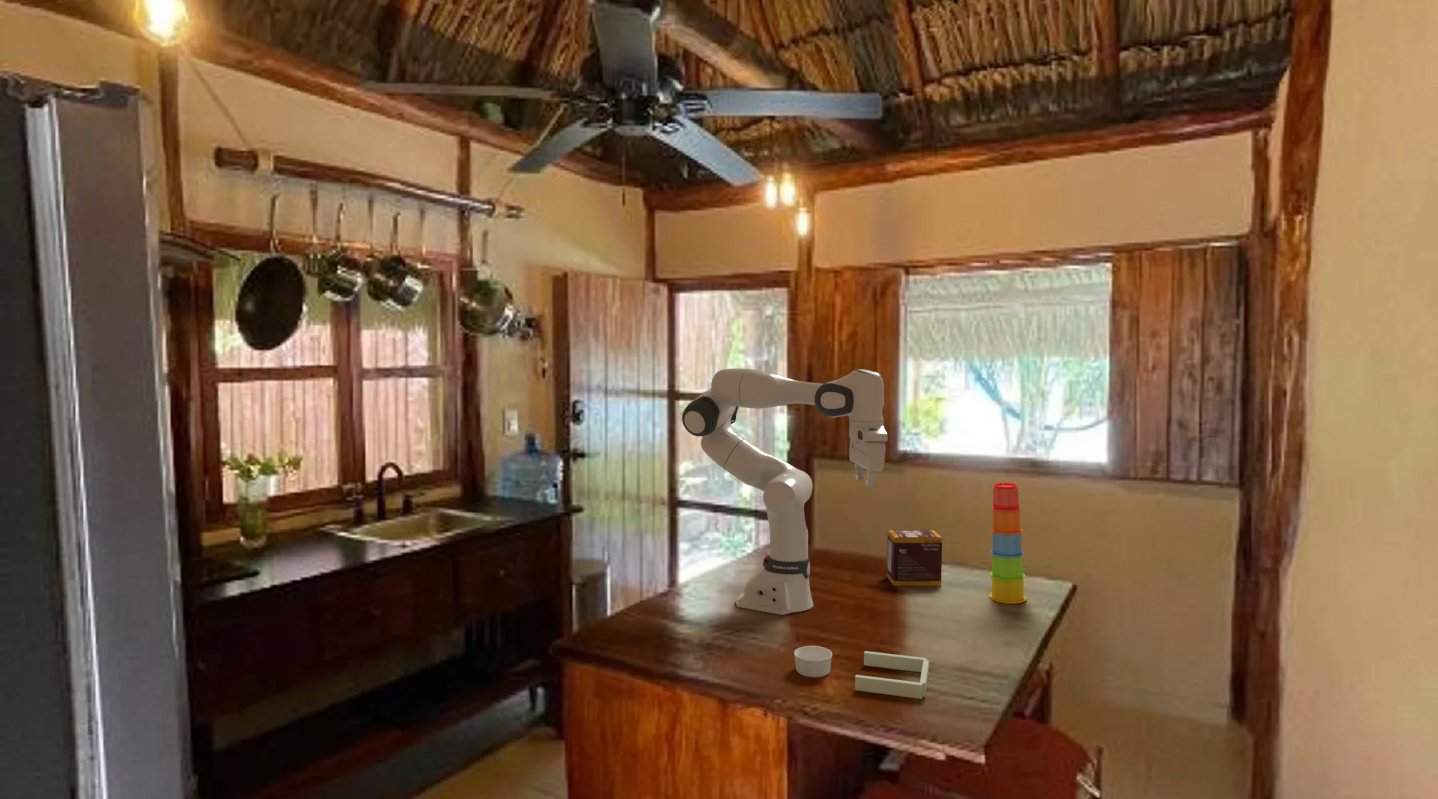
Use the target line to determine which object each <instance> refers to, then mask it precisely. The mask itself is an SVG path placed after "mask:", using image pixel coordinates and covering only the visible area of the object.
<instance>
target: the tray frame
mask: <svg viewBox="0 0 1438 799" xmlns="http://www.w3.org/2000/svg"><path fill="white" fill-rule="evenodd" d="M863 658H864V659H863V665H864V666H867V667H874V668H876V667H877V668H882V669H883V668H884V669H892V670H899V671H900V670H902V671H909V672H915V673H916V672H917V673H920V679H919V682H917V681H909V680H902V679H893V678H885V677H878V676H871V675H870V676H868V675H863V674H862V675H860V674H855V677H854V679H855V680H854V683H855V684H854V686H855V687H854V690H855V691H860V692H867V693H875V694H883V695H890V696H895V697H905V698H912V699H920V700H922V699H923V698H926V695H927V688H928V680H929V675H930V659H929V660H928V659H927V658H926V657H922V656H921V657H918V656H913V655H912V656H911V655H902V654H892V653H884V652H877V651H868V650H865V651H864V652H863Z"/></svg>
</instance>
